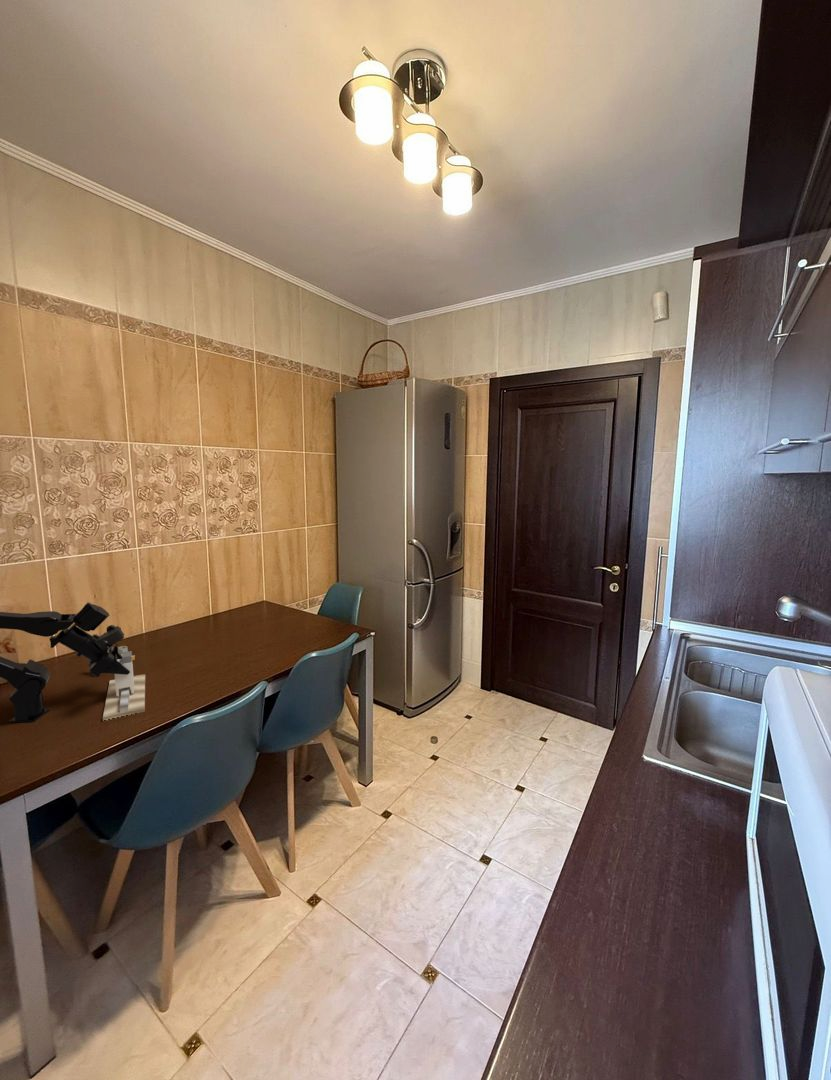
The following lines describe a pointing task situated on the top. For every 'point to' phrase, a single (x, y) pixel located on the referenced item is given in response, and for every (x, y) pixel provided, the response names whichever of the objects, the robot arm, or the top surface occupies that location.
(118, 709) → the din board
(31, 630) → the robot arm
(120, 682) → the breaker module
